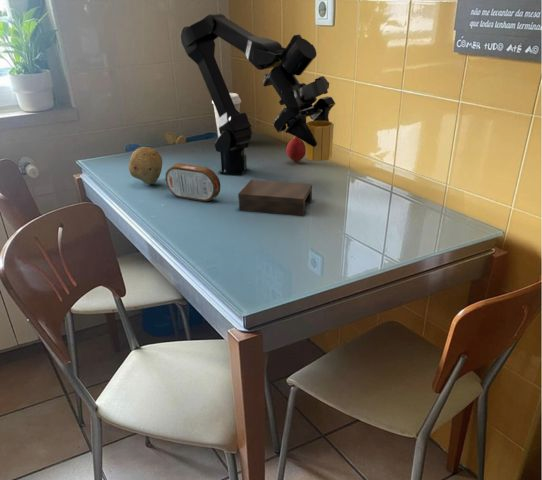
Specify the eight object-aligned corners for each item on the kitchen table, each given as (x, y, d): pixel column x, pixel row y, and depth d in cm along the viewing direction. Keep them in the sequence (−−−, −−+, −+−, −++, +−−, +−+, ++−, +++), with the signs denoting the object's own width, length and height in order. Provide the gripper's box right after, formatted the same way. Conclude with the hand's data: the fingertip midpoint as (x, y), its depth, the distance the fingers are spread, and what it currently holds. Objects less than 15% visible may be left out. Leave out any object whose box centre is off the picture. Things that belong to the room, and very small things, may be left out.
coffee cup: (211, 146, 180) (208, 97, 171) (218, 139, 188) (215, 92, 179) (239, 147, 179) (237, 98, 170) (245, 140, 186) (243, 92, 178)
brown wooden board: (239, 210, 132) (238, 193, 130) (251, 195, 141) (251, 179, 139) (303, 216, 129) (303, 198, 127) (311, 200, 138) (312, 183, 135)
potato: (134, 191, 145) (128, 153, 139) (129, 181, 152) (122, 144, 146) (168, 186, 148) (163, 149, 142) (161, 177, 154) (156, 141, 149)
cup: (308, 161, 134) (309, 127, 129) (303, 153, 139) (304, 120, 134) (333, 160, 134) (335, 126, 130) (328, 152, 140) (329, 119, 135)
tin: (222, 200, 138) (219, 167, 133) (216, 204, 136) (213, 171, 131) (172, 192, 144) (168, 160, 139) (165, 196, 141) (161, 164, 136)
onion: (305, 160, 166) (306, 132, 162) (305, 165, 161) (305, 137, 157) (287, 159, 167) (287, 132, 162) (285, 165, 162) (285, 137, 157)
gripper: (283, 70, 121) (321, 129, 122) (331, 60, 133) (365, 114, 133) (257, 103, 130) (293, 159, 130) (304, 91, 141) (337, 142, 142)
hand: (323, 142), depth 134 cm, fingers closed on cup, 6 cm apart
